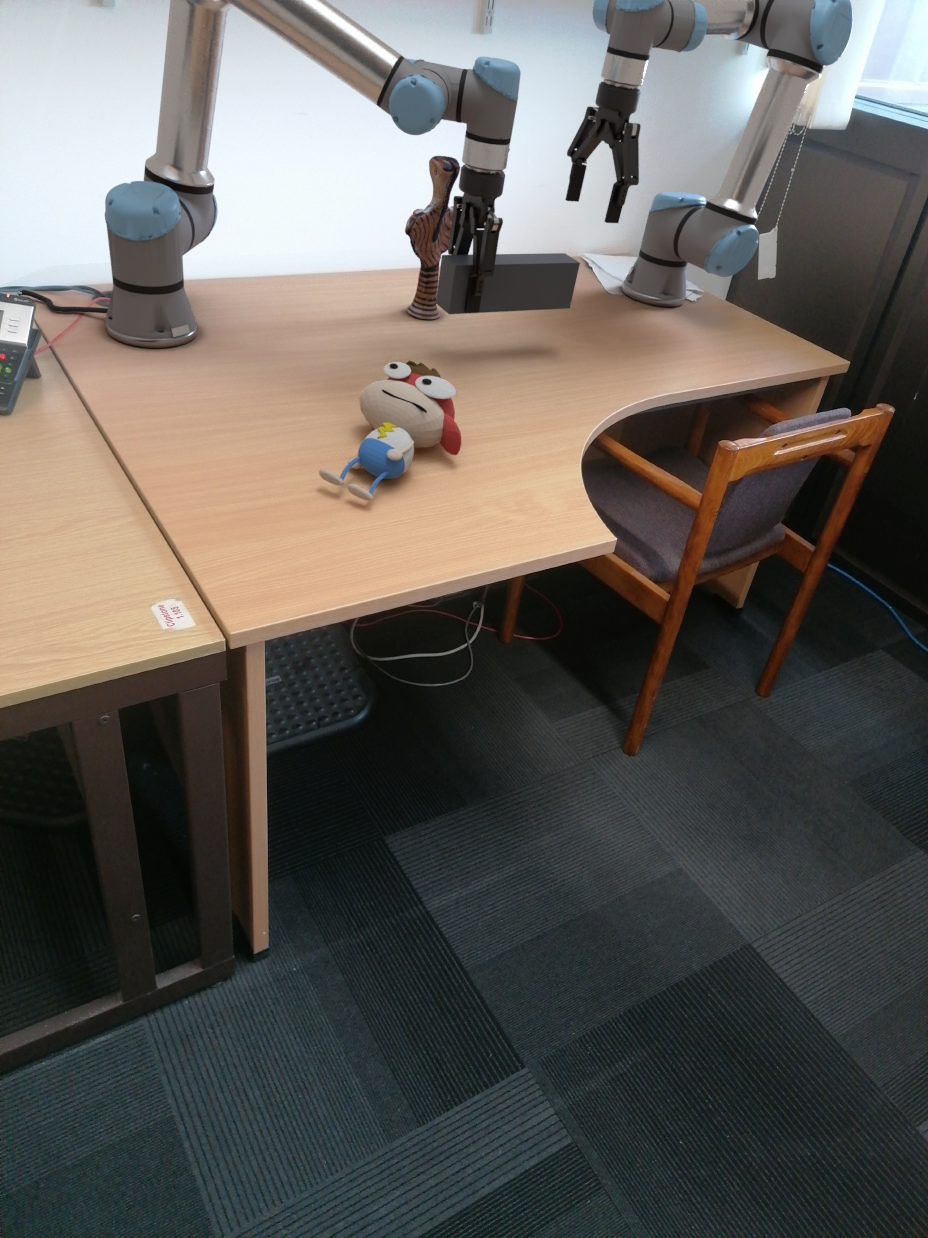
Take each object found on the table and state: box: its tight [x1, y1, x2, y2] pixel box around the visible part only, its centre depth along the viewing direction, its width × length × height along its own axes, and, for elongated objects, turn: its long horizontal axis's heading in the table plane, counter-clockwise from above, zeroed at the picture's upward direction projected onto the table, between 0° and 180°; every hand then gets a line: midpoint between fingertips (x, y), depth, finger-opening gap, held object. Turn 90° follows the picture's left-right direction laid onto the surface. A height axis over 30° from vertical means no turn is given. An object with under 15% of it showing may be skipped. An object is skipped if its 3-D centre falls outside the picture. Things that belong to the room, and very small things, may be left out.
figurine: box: [404, 155, 461, 320], centre depth 174 cm, size 15×8×30 cm, turn 144°
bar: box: [436, 252, 581, 315], centre depth 164 cm, size 26×5×9 cm, turn 118°
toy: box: [318, 360, 462, 502], centre depth 133 cm, size 18×10×30 cm
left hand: (463, 305), depth 162 cm, fingers closed on bar, 5 cm apart
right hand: (591, 211), depth 169 cm, fingers open, 13 cm apart
